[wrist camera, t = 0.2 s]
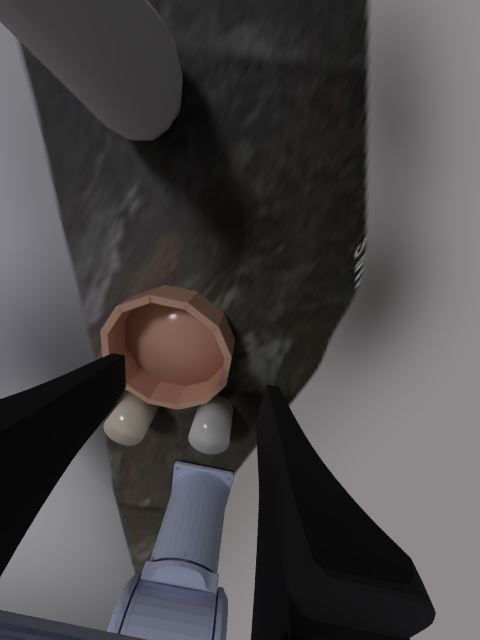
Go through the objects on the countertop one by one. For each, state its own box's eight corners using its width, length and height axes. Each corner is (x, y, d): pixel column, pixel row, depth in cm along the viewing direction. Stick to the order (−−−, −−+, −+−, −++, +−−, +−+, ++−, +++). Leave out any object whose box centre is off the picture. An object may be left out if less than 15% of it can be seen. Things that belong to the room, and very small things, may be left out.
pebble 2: (230, 424, 26) (225, 457, 22) (197, 417, 26) (186, 449, 22) (236, 399, 24) (232, 430, 21) (200, 391, 24) (190, 422, 21)
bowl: (224, 395, 24) (219, 417, 21) (123, 375, 24) (106, 395, 21) (243, 300, 19) (240, 313, 17) (118, 275, 19) (95, 284, 17)
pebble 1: (159, 417, 26) (143, 448, 23) (126, 410, 26) (105, 440, 23) (160, 392, 25) (143, 421, 21) (125, 384, 25) (102, 413, 21)
